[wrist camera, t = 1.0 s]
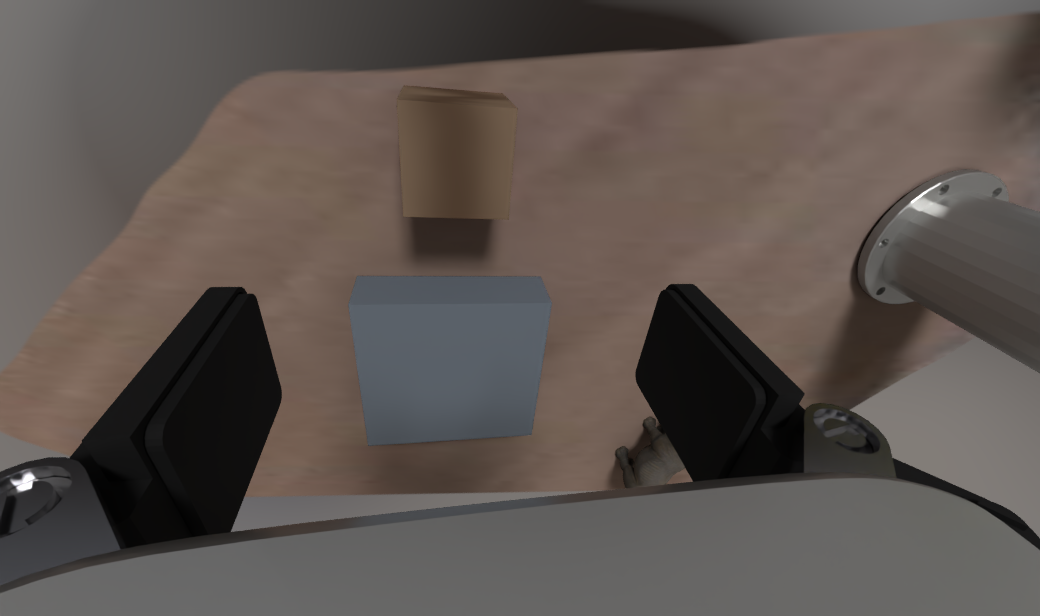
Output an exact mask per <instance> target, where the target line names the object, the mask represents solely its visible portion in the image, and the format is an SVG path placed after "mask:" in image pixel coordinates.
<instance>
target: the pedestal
mask: <svg viewBox="0 0 1040 616" xmlns="http://www.w3.org/2000/svg"><path fill="white" fill-rule="evenodd" d="M551 305H552V302H551V300H550V298H549V295H548V293H547V290H546V288H545V286H544V283H543V281H542V278H541V277H499V276H357V278H356V282H355V285H354V288H353V291H352V295H351V298H350V301H349V304H348V306H349V313H350V320H351V327H352V334H353V341H354V348H355V356H356V363H357V370H358V377H359V384H360V391H361V398H362V405H363V412H364V419H365V426H366V433H367V440H368V446H373V445H388V444H403V443H418V442H433V441H448V440H463V439H479V438H494V437H509V436H524V435H531V434H532V428H533V421H534V415H535V408H536V402H537V396H538V389H539V383H540V376H541V370H542V363H543V357H544V350H545V344H546V337H547V331H548V324H549V318H550V311H551Z"/></svg>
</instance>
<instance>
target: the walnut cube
mask: <svg viewBox="0 0 1040 616" xmlns="http://www.w3.org/2000/svg"><path fill="white" fill-rule="evenodd" d="M517 110H518V109H517V108H516V107H515V106H514V104H513V103H512V102H511V101H510V100H509V99H508V98H507V97H506V96H505V95H504V94H502V93H490V92H478V91H465V90H453V89H441V88H429V87H417V86H403V88H402V90H401V92H400V94H399V96H398V98H397V114H398V132H399V150H400V168H401V187H402V205H403V217H430V218H467V219H504V220H509V209H510V196H511V184H512V172H513V159H514V147H515V135H516V123H517Z"/></svg>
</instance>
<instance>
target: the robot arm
mask: <svg viewBox="0 0 1040 616" xmlns="http://www.w3.org/2000/svg"><path fill="white" fill-rule="evenodd" d="M1008 201H1009V195H1008V191H1007V188H1006V185H1005V184H1004V183H1003V181H1002V180H1001V179H1000V178H998V177H996V176H995V175H993V174H990V173H986V172H983V171H979V170H970V169H964V170H958V171H952V172H949V173H946V174H943V175H940V176H938V177H936V178H934V179H932V180H930V181H928V182H926V183H924V184H922V185H920V186H919V187H917V188H916V189H914V190H913V191H911V192H910V193H908V194H907V195H906V196H905V197H903V198H902V199H901V200H900V201H899V202H897V203H896V204H895V205H894V206H893V207H892V208H891V209H890V210H889V211H888V212H887V213H886V214H885V215H884V216H883V218H882V219H881V220H880V221H879V223H878V224H877V225H876V227H875V228H874V229H873V231H872V232H871V234H870V236H869V237H868V239H867V241H866V243H865V245H864V247H863V250H862V252H861V255H860V259H859V263H858V279H859V284H860V286H861V287H862V289H863V290H864V292H866V293H867V294H868V295H870V296H871V297H873V298H874V299H876V300H878V301H880V302H883V303H887V304H903V303H909V302H913V301H916V302H917V303H919V304H921V305H922V306H924V307H926V308H928V309H929V310H931V311H933V312H935V313H936V314H938V315H940V316H942V317H943V318H945V319H947V320H948V321H950V322H952V323H954V324H955V325H957V326H959V327H961V328H962V329H964V330H966V331H967V332H969V333H971V334H973V335H974V336H976V337H978V338H980V339H981V340H983V341H985V342H987V343H988V344H990V345H992V346H993V347H995V348H997V349H999V350H1001V351H1002V352H1004V353H1006V354H1007V355H1009V356H1011V357H1012V358H1014V359H1016V360H1018V361H1019V362H1021V363H1023V364H1025V365H1026V366H1028V367H1030V368H1031V369H1033V370H1035V371H1037V372H1038V373H1040V212H1038V211H1035V210H1032V209H1029V208H1026V207H1022V206H1019V205H1016V204H1013V203H1010V202H1008ZM636 382H637V384H638V386H639V388H640V390H641V392H642V393H643V395H644V397H645V399H646V400H647V402H648V404H649V405H650V407H651V409H652V411H653V412H654V414H655V416H656V418H657V419H658V421H659V423H660V425H661V426H662V428H663V430H664V432H665V433H666V435H667V437H668V438H669V440H670V442H671V444H672V445H673V447H674V449H675V451H676V452H677V454H678V456H679V458H680V459H681V461H682V463H683V465H684V466H685V468H686V470H687V471H688V473H689V475H690V477H691V478H692V480H693V482H686V483H676V484H666V485H656V486H646V487H635V488H625V489H615V490H605V491H596V492H586V493H577V494H568V495H558V496H548V497H538V498H529V499H519V500H511V501H500V502H491V503H482V504H472V505H463V506H453V507H444V508H436V509H426V510H417V511H408V512H400V513H391V514H381V515H372V516H363V517H354V518H344V519H335V520H327V521H317V522H308V523H300V524H292V525H284V526H276V527H268V528H260V529H252V530H245V531H236V532H231V529H232V527H233V524H234V522H235V519H236V517H237V514H238V511H239V509H240V506H241V504H242V501H243V499H244V496H245V494H246V491H247V488H248V486H249V483H250V481H251V478H252V476H253V473H254V470H255V468H256V465H257V463H258V460H259V458H260V455H261V452H262V450H263V447H264V445H265V442H266V440H267V437H268V434H269V432H270V429H271V427H272V424H273V422H274V419H275V417H276V414H277V411H278V409H279V406H280V403H281V398H282V390H281V385H280V382H279V378H278V374H277V371H276V367H275V363H274V360H273V356H272V353H271V349H270V345H269V342H268V338H267V334H266V331H265V327H264V323H263V320H262V316H261V312H260V309H259V305H258V301H257V299H256V296H255V295H254V294H247V292H246V291H245V289H244V288H242V287H210V288H209V289H207V290H206V292H205V293H204V294H203V295H202V296H201V298H200V299H199V300H198V301H197V302H196V304H195V305H194V306H193V307H192V308H191V310H190V311H189V312H188V313H187V314H186V316H185V317H184V318H183V319H182V320H181V322H180V323H179V324H178V325H177V327H176V328H175V329H174V330H173V331H172V333H171V334H170V335H169V336H168V337H167V339H166V340H165V341H164V342H163V343H162V345H161V346H160V347H159V348H158V349H157V351H156V352H155V353H154V354H153V355H152V357H151V358H150V359H149V360H148V361H147V363H146V364H145V365H144V366H143V367H142V369H141V370H140V371H139V372H138V373H137V375H136V376H135V377H134V378H133V380H132V381H131V382H130V383H129V384H128V386H127V387H126V388H125V389H124V390H123V392H122V393H121V394H120V395H119V396H118V398H117V399H116V400H115V401H114V402H113V404H112V405H111V406H110V407H109V408H108V410H107V411H106V412H105V413H104V414H103V416H102V417H101V418H100V419H99V420H98V422H97V423H96V424H95V425H94V426H93V428H92V429H91V430H90V431H89V433H88V434H87V435H86V436H85V437H84V439H83V440H82V443H81V445H80V446H79V447H78V448H77V449H76V451H75V452H74V453H73V454H72V455H71V457H70V458H66V457H48V458H43V459H39V460H34V461H28V462H25V463H22V464H19V465H17V466H14V467H11V468H8V469H5V470H3V471H1V472H0V616H1040V538H1039V537H1038V536H1037V535H1036V534H1035V533H1034V531H1033V530H1032V529H1030V528H1029V526H1028V525H1027V524H1026V523H1025V522H1024V521H1023V520H1022V519H1021V518H1020V517H1018V516H1017V515H1016V514H1015V513H1013V512H1012V511H1010V510H1008V509H1007V508H1005V507H1003V506H1001V505H999V504H996V503H994V502H991V501H989V500H987V499H985V498H983V497H980V496H978V495H976V494H973V493H971V492H969V491H967V490H964V489H962V488H960V487H957V486H955V485H953V484H951V483H948V482H946V481H944V480H942V479H939V478H937V477H935V476H933V475H930V474H928V473H926V472H923V471H921V470H919V469H916V468H914V467H912V466H910V465H908V464H905V463H903V462H901V461H898V460H896V459H894V458H892V454H891V450H890V446H889V444H888V442H887V439H886V438H885V437H884V435H883V434H882V433H881V432H880V431H879V430H878V429H877V428H876V427H875V426H874V425H873V424H871V423H870V422H869V421H868V420H866V419H864V418H863V417H861V416H859V415H858V414H856V413H854V412H852V411H850V410H847V409H845V408H843V407H839V406H836V405H832V404H825V403H817V404H812V405H810V406H809V407H807V408H806V409H805V410H804V409H803V408H802V407H801V406H800V405H799V403H800V401H801V399H802V398H803V396H804V394H805V393H804V392H803V391H802V390H801V389H800V388H799V387H798V386H797V385H796V384H795V383H794V382H793V381H792V380H790V379H789V378H788V377H787V376H786V375H785V374H784V373H783V372H782V371H781V370H780V369H779V368H778V367H777V366H776V365H775V364H774V363H773V362H772V361H771V360H770V359H769V358H768V357H767V356H766V355H765V354H764V353H763V352H762V351H761V350H760V349H759V348H758V347H757V346H756V345H755V344H754V343H753V342H752V341H751V340H750V339H749V338H748V337H747V336H746V335H745V334H744V333H743V332H742V331H741V330H740V329H739V328H738V327H737V326H736V325H735V324H734V323H733V322H732V321H731V320H730V319H729V318H728V317H727V316H726V315H725V314H724V313H723V312H722V311H721V310H720V309H719V308H718V307H717V306H716V305H715V304H714V303H713V302H712V301H711V300H710V299H708V298H707V297H706V296H705V295H704V294H703V293H702V292H701V291H700V290H699V289H698V288H697V287H696V286H695V285H693V284H671V285H669V286H668V287H667V288H666V290H663V291H661V293H660V295H659V297H658V301H657V304H656V307H655V310H654V314H653V317H652V320H651V323H650V327H649V330H648V333H647V336H646V340H645V343H644V346H643V349H642V352H641V356H640V359H639V362H638V365H637V369H636Z"/></svg>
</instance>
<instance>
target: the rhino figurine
mask: <svg viewBox="0 0 1040 616" xmlns="http://www.w3.org/2000/svg"><path fill="white" fill-rule="evenodd" d="M643 425H644V427H645V428H647V429H648V432H649V435H650V438H651V445H649V446H647V447H645V448H644V449H642V450H641V451H640V452H639V453H638V455H637V457H636V459H635V461H634V460H633V459H628V449H627V448H626V447H625V446H622V447H620V448H619V449H617V450H616V456H617V458H619V459H620V465H621V469H622V470H623V480H624V485H625V487H626V488H635V487H646V486H656V485H666V483H667V482H668V481H669V479H670V478H671V477H672V476H673V475H674V474H675V473H677V472H680V471H681V470H683V469H684V468H685V466H684V465H683V463H682V461H681V459H680V458H679V456H678V454H677V452H676V451H675V449H674V447H673V445H672V444H671V442H670V440H669V438H668V437H667V435H665V432H664V430H663V428H662V426H659V427H657V428H656V427H655V425H656V420H655V419H654V418H652V417H648V418H646V419H645V420H644V423H643ZM633 463H634V468H633Z"/></svg>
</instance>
